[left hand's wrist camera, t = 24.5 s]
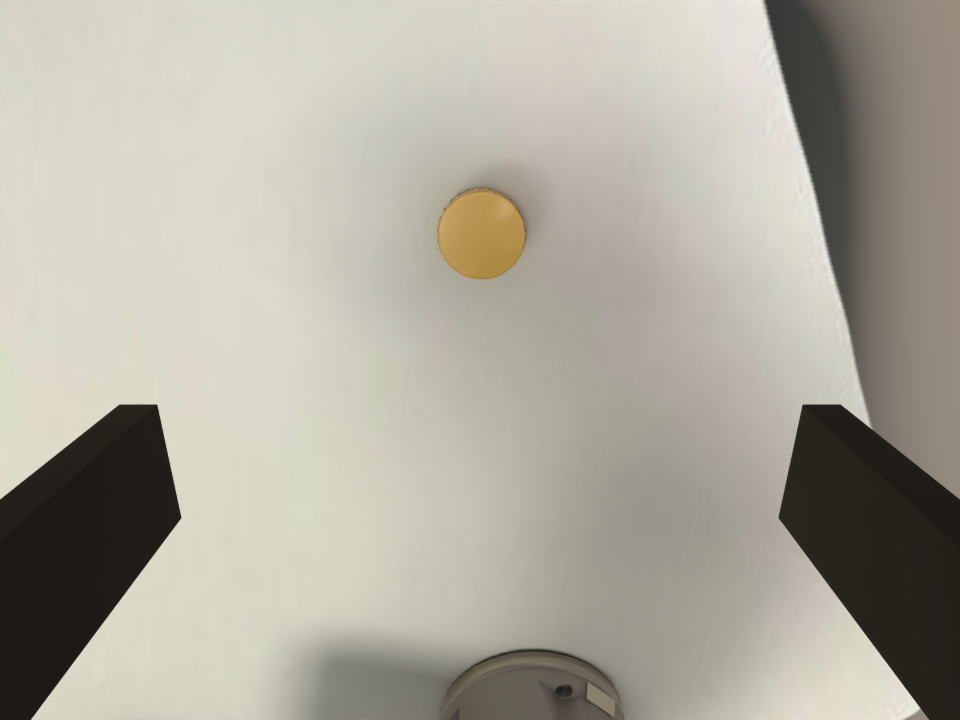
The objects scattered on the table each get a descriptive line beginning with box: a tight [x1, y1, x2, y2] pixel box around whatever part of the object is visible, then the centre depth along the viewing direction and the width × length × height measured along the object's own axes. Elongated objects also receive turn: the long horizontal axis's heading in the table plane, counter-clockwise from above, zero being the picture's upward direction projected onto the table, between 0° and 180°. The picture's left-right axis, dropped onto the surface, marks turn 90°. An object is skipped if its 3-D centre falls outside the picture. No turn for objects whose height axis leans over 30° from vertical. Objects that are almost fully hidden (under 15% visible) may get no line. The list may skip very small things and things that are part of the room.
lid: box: [437, 187, 526, 279], centre depth 36 cm, size 5×5×2 cm
